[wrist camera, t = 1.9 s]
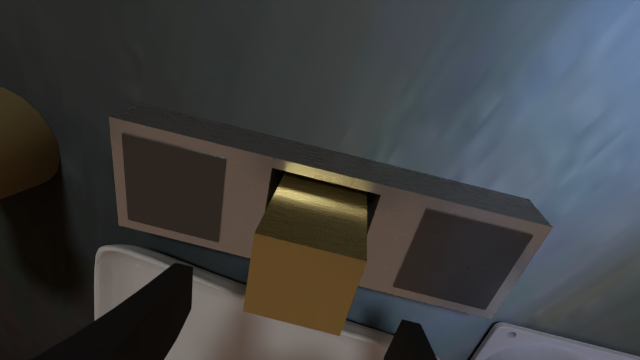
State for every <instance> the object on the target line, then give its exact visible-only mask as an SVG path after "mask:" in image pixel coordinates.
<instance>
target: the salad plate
mask: <svg viewBox="0 0 640 360" xmlns="http://www.w3.org/2000/svg"><path fill="white" fill-rule="evenodd" d="M174 263H179V264H183V265H187V266H191V267H193V285H192V309H191V311H190V313H189V315H188V317H187V319H186V321H185V324H184V326H183V328H182V330H181V332H180V334H179V336H178V338H177V340H176V341H175V343H174V345H173V346H172V348H171V349H170V351H169V353H168V354H167V356H166V358H165V359H164V360H384V356H385V354H386V352H387V350H388V347H389V345H390V343H391V341H392V339H393V337H394V335H391V334H388V333H385V332H382V331H378V330H375V329H372V328H369V327H366V326H363V325H359V324H356V323H353V322H350V321H347V320H345V323H344V326H343V329H342V331H341V334H340V336H337V335H333V334H329V333H325V332H321V331H318V330H314V329H310V328H306V327H302V326H298V325H294V324H290V323H286V322H282V321H278V320H274V319H270V318H266V317H263V316H259V315H255V314H251V313H247V312H243V307H244V300H245V293H246V286H247V285H245V284H242V283H239V282H236V281H233V280H231V279H228V278H225V277H222V276H220V275H217V274H214V273H212V272H209V271H206V270H204V269H201V268H199V267H196V266H193V265H191V264H188V263H186V262H183V261H180V260H178V259H175V258H173V257H170V256H167V255H165V254H162V253H159V252H156V251H153V250H150V249H146V248H142V247H138V246H132V245H120V244H118V245H106V246H102V247H100V248H99V249H98V251H97V254H96V257H95V270H94V314H95V320H97V319H98V318H100V317H101V316H103V315H104V314H106V313H107V312H109V311H110V310H112V309H113V308H115V307H116V306H117V305H119V304H120V303H122V302H123V301H124V300H126V299H127V298H129V297H130V296H131V295H133V294H134V293H136V292H137V291H138V290H140V289H141V288H142V287H144V286H145V285H146V284H148V283H149V282H150V281H152V280H153V279H154V278H155V277H157V276H158V275H159V274H161V273H162V272H163V271H165V270H166V269H167V268H168V267H170V266H171V265H172V264H174ZM435 356H436V355H435ZM436 358H437V360H441V359H440V358H439V357H437V356H436Z"/></svg>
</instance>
